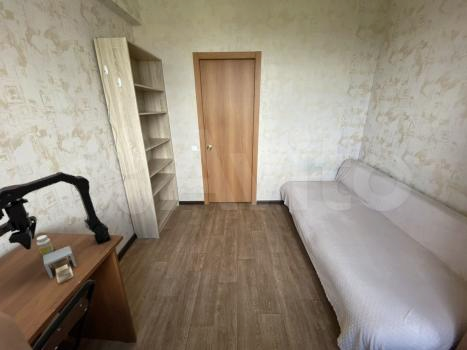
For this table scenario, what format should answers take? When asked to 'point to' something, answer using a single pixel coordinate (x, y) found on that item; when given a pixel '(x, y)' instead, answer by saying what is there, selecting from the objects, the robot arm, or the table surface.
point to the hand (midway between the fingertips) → (30, 244)
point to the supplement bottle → (44, 245)
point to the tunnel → (57, 258)
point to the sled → (63, 270)
